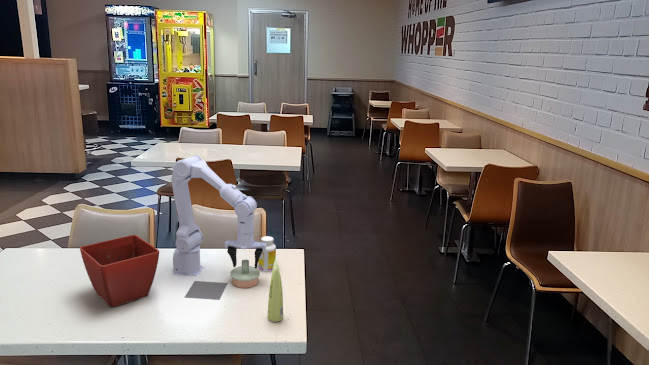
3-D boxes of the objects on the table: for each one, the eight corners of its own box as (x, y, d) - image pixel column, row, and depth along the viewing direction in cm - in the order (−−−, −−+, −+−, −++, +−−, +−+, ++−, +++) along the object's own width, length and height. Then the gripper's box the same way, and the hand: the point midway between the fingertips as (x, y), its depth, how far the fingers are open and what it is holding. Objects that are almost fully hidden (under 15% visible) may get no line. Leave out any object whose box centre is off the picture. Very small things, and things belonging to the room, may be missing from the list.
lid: (227, 279, 173) (227, 266, 171) (235, 266, 183) (235, 253, 181) (256, 282, 172) (256, 268, 170) (262, 269, 182) (262, 256, 180)
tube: (262, 317, 157) (263, 261, 151) (274, 311, 160) (275, 256, 155) (275, 324, 153) (276, 267, 148) (286, 318, 157) (288, 262, 152)
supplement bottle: (277, 266, 193) (277, 235, 189) (273, 273, 186) (274, 242, 183) (260, 264, 193) (260, 234, 190) (256, 272, 187) (256, 241, 183)
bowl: (230, 287, 174) (230, 278, 173) (235, 276, 183) (235, 267, 182) (255, 289, 174) (255, 280, 173) (259, 277, 182) (259, 269, 182)
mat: (184, 298, 165) (184, 297, 165) (194, 282, 177) (194, 280, 177) (219, 301, 165) (219, 299, 165) (227, 284, 177) (227, 282, 176)
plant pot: (137, 276, 179) (135, 233, 174) (162, 296, 166) (160, 250, 161) (82, 292, 166) (78, 246, 161) (105, 316, 153) (101, 266, 148)
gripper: (222, 234, 169) (222, 270, 173) (264, 237, 169) (263, 272, 173) (227, 227, 176) (227, 261, 180) (267, 229, 176) (266, 264, 179)
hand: (245, 266), depth 177 cm, fingers open, 7 cm apart
